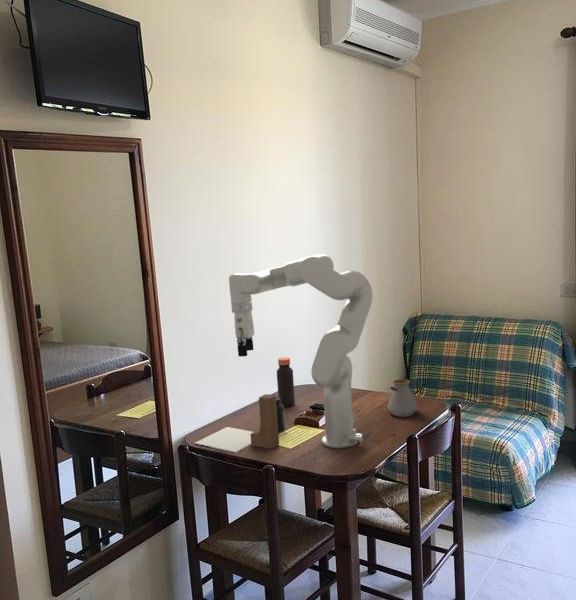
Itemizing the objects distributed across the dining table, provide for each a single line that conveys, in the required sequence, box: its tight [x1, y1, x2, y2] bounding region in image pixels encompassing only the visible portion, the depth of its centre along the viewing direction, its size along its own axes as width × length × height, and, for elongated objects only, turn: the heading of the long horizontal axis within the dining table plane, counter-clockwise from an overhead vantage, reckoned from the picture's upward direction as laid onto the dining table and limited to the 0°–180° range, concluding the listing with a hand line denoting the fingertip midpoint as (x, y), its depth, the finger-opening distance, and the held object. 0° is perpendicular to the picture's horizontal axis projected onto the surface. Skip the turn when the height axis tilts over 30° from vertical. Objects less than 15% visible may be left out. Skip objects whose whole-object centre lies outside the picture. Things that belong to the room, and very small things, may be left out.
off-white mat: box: [194, 426, 254, 454], centre depth 220 cm, size 19×18×1 cm
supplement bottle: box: [276, 396, 286, 433], centre depth 228 cm, size 7×7×12 cm
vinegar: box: [276, 357, 296, 408], centre depth 256 cm, size 7×7×20 cm
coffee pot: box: [387, 378, 418, 418], centre depth 232 cm, size 21×12×15 cm, turn 155°
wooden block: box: [250, 393, 280, 450], centre depth 212 cm, size 9×4×18 cm, turn 61°
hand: (246, 353), depth 225 cm, fingers open, 9 cm apart
